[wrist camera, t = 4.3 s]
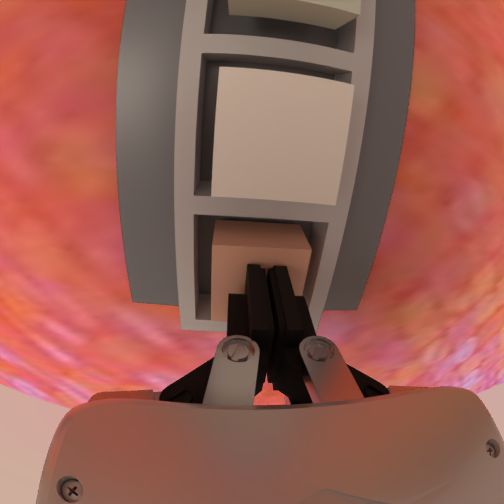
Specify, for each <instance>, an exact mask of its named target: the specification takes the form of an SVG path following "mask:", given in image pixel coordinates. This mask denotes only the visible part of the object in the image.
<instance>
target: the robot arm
mask: <svg viewBox="0 0 504 504" xmlns="http://www.w3.org/2000/svg"><path fill="white" fill-rule="evenodd" d="M266 373H267V380H268V383H273V390H279V391H280V392H281V393H283V394H284V395H285V396H284V399H285V404H286V405H253V403H254V397H255V396H256V395H257V394H258V393H259V392H260V391H262V387H263V383H264V382H265V378H266ZM75 486H76V487H75ZM36 504H504V441H503V439H502V437H501V435H500V432H499V430H498V428H497V427H496V424H495V422H494V421H493V418H492V417H491V415H490V413H489V411H488V410H487V409H486V407H485V405H484V404H483V402H482V401H481V400H480V399H479V397H478V396H477V395H476V394H475V393H473V392H472V391H470V390H467V389H464V388H459V387H451V386H440V387H410V386H389V387H388V388H386V387H385V386H384V385H383V384H381V383H380V382H378V381H376V380H374V379H372V378H371V377H369V376H367V375H365V374H363V373H362V372H360V371H358V370H356V369H355V368H353V367H351V366H349V365H348V364H346V363H345V361H344V359H343V357H342V355H341V354H340V352H339V350H338V348H337V346H336V345H335V344H334V343H333V342H332V341H331V340H329V339H327V338H325V337H321V336H316V332H315V329H314V326H313V323H312V319H311V316H310V313H309V310H308V306H307V303H306V300H305V297H304V296H295V294H294V291H293V287H292V283H291V280H290V276H289V273H288V269H287V266H279V265H274V266H273V269H271V268H269V269H268V274H267V277H266V271H265V268H261V266H260V265H257V264H247V270H246V281H245V292H244V294H232V293H228V312H227V337H226V338H224V339H223V340H221V341H220V342H219V344H218V346H217V350H216V354H215V357H213V358H212V359H210V360H209V361H207V362H206V363H204V364H203V365H201V366H199V367H198V368H196V369H195V370H193V371H192V372H190V373H188V374H187V375H185V376H184V377H182V378H180V379H179V380H177V381H176V382H174V383H172V384H171V385H169V386H167V387H166V388H165V389H164V390H163V391H162V392H153V390H138V391H116V392H100V393H97V394H95V395H93V396H92V397H91V398H90V400H89V401H88V402H87V403H84V404H81V405H78V406H76V407H74V408H73V409H71V410H70V411H69V412H68V413H67V414H66V415H65V416H64V418H63V419H62V420H61V422H60V424H59V426H58V428H57V430H56V432H55V434H54V437H53V439H52V442H51V444H50V447H49V450H48V453H47V457H46V460H45V464H44V468H43V471H42V475H41V480H40V484H39V489H38V495H37V500H36Z"/></svg>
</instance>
